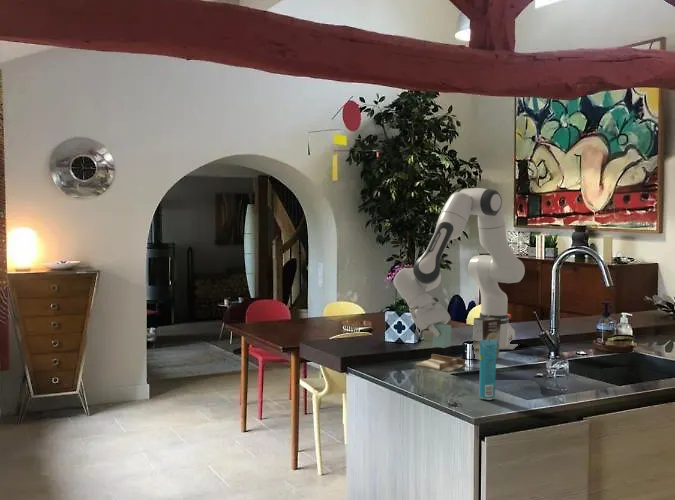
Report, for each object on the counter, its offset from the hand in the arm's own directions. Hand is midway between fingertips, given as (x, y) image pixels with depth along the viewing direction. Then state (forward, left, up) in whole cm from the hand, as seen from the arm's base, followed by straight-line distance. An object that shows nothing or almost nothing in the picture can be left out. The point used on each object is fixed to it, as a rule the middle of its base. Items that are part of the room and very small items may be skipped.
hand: (443, 334), depth 270 cm
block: (0, -1, -5) cm, 5 cm away
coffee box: (-23, +6, -12) cm, 27 cm away
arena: (0, -1, -12) cm, 12 cm away
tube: (+29, +32, -12) cm, 45 cm away
